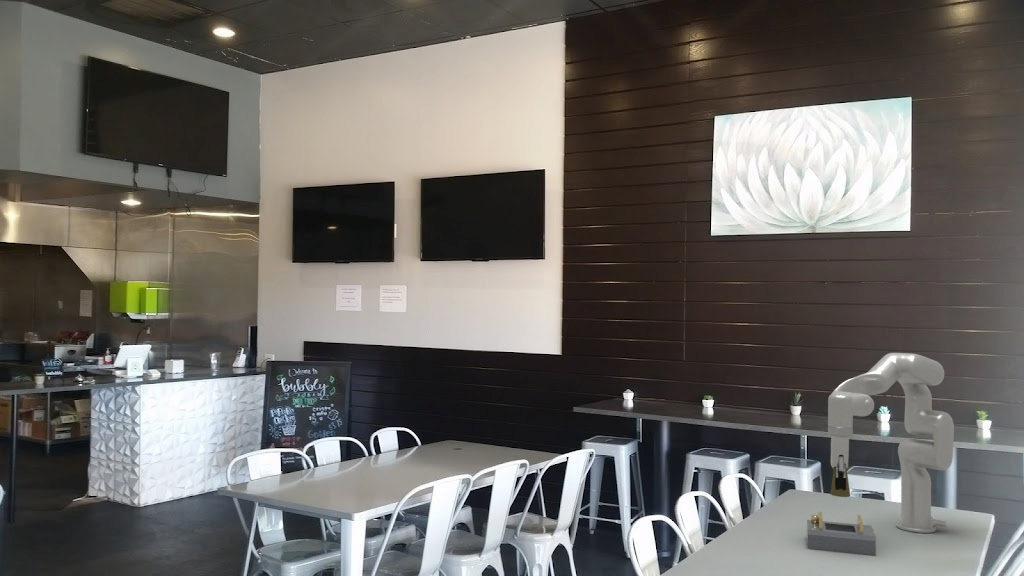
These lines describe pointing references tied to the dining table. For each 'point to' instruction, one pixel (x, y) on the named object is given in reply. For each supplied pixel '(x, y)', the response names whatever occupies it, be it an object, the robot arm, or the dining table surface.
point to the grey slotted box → (840, 536)
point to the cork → (840, 492)
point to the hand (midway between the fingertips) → (840, 487)
